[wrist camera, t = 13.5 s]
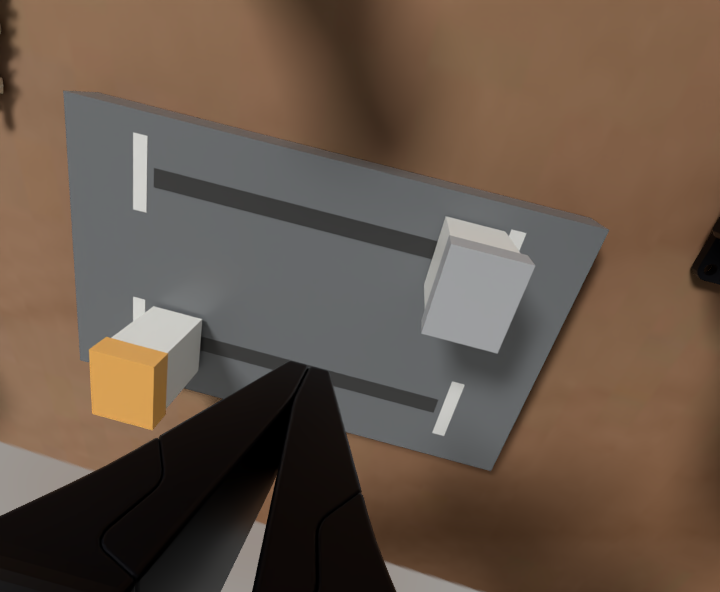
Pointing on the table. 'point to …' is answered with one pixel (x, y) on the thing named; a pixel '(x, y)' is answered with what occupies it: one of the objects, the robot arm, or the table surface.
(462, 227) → the grey fader
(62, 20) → the table surface
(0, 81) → the woven mat
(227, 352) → the console
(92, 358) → the orange fader
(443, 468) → the table surface
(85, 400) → the table surface
